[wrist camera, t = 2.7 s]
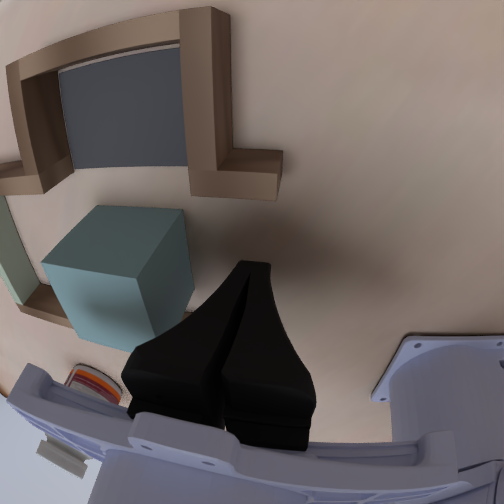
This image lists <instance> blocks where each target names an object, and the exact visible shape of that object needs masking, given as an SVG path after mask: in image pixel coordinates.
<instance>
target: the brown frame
mask: <svg viewBox="0 0 504 504" xmlns="http://www.w3.org/2000/svg"><path fill="white" fill-rule="evenodd" d="M177 43H180V61H181V80H182V97H183V112H184V126H185V138H186V150H187V161H188V172H189V182H190V191H191V196H200V197H219V198H236V199H251V200H265V201H276V200H277V196H278V191H279V186H280V181H281V176H282V161H283V151H279V150H262V149H237V148H233V136H232V96H231V43H230V15H229V14H227V13H225V12H222V11H220V10H218V9H216V8H214V7H211V6H208V7H199V8H191V9H184V10H177V11H171V12H165V13H160V14H154V15H149V16H145V17H140V18H136V19H131V20H127V21H123V22H119V23H116V24H112V25H108V26H105V27H101V28H98V29H95V30H92V31H89V32H85V33H82V34H79V35H77V36H74V37H71V38H68V39H65V40H63V41H60V42H58V43H55V44H53V45H50V46H48V47H45V48H43V49H40V50H38V51H36V52H34V53H31V54H29V55H27V56H25V57H23V58H21V59H19V60H17V61H15V62H12V63H11V64H9V65H7V66H6V74H7V83H8V91H9V98H10V105H11V111H12V117H13V122H14V128H15V133H16V137H17V142H18V147H19V151H20V155H21V159H22V161H15V162H9V163H4V164H0V196H5V195H34V194H45V193H46V192H48V191H49V190H50V189H51V188H53V187H54V186H55V185H57V184H58V183H59V182H61V181H62V180H64V179H65V178H66V177H68V176H69V175H70V174H72V173H73V172H74V170H73V165H72V161H71V156H70V151H69V147H68V141H67V136H66V131H65V125H64V119H63V113H62V107H61V100H60V92H59V84H58V75H57V70H60V69H63V68H66V67H69V66H73V65H76V64H79V63H83V62H86V61H90V60H94V59H98V58H102V57H106V56H110V55H114V54H119V53H124V52H128V51H133V50H139V49H144V48H150V47H156V46H163V45H170V44H177ZM16 304H17V306H18V308H19V309H20V311H21V312H23V313H26V314H29V315H31V316H34V317H37V318H40V319H43V320H46V321H49V322H52V323H56V324H59V325H62V326H65V327H68V328H72V329H74V328H73V326H72V324H71V323H70V321H69V319H68V317H67V315H66V313H65V312H64V310H63V308H62V306H61V304H60V302H59V300H58V298H57V296H56V294H55V292H54V290H53V288H52V286H48V285H44V284H39V285H38V287H37V288H36V289H35V290H34V292H33V293H32V294H31V295H30V297H29V298H28V299H27V300H26V302H25V303H24V304H23V305H21V304H18V303H16ZM190 314H192V313H190V312H184V314H183V317H182V319H181V321H183V320H184V319H185V318H187V317H188V316H189V315H190ZM181 321H180V322H181Z"/></svg>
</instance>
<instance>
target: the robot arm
mask: <svg viewBox="0 0 504 504" xmlns="http://www.w3.org/2000/svg"><path fill="white" fill-rule="evenodd" d="M270 273H271V265H270V264H269V263H265V262H255V261H244V260H241V261H239V262H238V264H237V265H236V267H235V268H234V269H233V271H232V272H231V273H230V275H229V276H228V277H227V278H226V280H225V281H224V282H223V283H222V284H221V285H220V287H219V288H218V289H217V290H216V291H215V292H214V293H213V294H212V295H211V296H210V297H209V298H208V299H207V300H206V301H205V302H204V303H203V304H202V305H201V306H200V307H199V308H198V309H196V310H195V311H194V312H193V313H192V314H190V315H189V316H188V317H187V318H185V319H184V320H183V321H181V322H180V323H178V324H177V325H176V326H174V327H172V328H171V329H169V330H168V331H166V332H164V333H163V334H161V335H159V336H157V337H155V338H154V339H151V340H149V341H147V342H145V343H143V344H141V345H138V346H136V347H135V349H134V351H133V352H132V353H131V355H130V357H129V358H128V361H127V363H126V365H125V367H124V369H123V371H122V373H121V378H122V380H123V382H124V384H125V386H126V387H127V389H128V391H129V392H130V394H131V395H132V397H133V398H132V400H131V403H130V405H129V407H128V408H126V407H122V406H119V405H116V404H113V403H110V402H107V401H105V400H102V399H99V398H96V397H93V396H91V395H88V394H85V393H83V392H80V391H78V390H75V389H73V388H70V387H68V386H65V385H63V384H61V383H58V382H56V381H54V380H53V379H52V377H51V376H50V375H49V374H48V373H47V372H46V371H45V370H43V369H41V368H39V367H37V366H35V365H33V364H30V363H28V364H27V365H26V367H25V369H24V370H23V372H22V374H21V375H20V377H19V379H18V380H17V382H16V384H15V386H14V387H13V389H12V391H11V393H10V394H9V396H8V398H7V400H6V401H7V403H8V404H9V405H10V406H11V407H13V409H15V410H16V411H17V412H18V413H19V414H20V415H21V416H23V417H24V418H25V419H26V420H27V421H28V422H29V423H31V424H32V425H33V426H35V427H37V428H38V429H40V430H42V431H43V432H45V433H47V434H49V435H51V436H52V437H54V438H56V439H58V440H60V441H61V442H63V443H65V444H67V445H69V446H71V447H72V448H74V449H76V450H78V451H80V452H82V453H84V454H86V455H88V456H90V457H92V458H94V459H97V460H99V461H101V462H103V463H102V466H101V468H100V471H99V474H98V476H97V479H96V482H95V485H94V487H93V490H92V493H91V496H90V498H89V501H88V504H504V335H503V336H409V337H407V338H405V339H404V340H403V342H402V344H401V345H400V347H399V349H398V351H397V353H396V355H395V356H394V358H393V360H392V362H391V363H390V365H389V367H388V369H387V370H386V372H385V374H384V375H383V377H382V379H381V380H380V382H379V384H378V385H377V387H376V389H375V390H374V392H373V393H372V395H371V401H373V402H390V409H391V423H392V442H382V443H326V442H309V430H310V427H311V418H312V415H313V413H314V410H315V408H316V393H315V389H314V385H313V381H312V378H311V375H310V373H309V371H308V370H307V368H306V367H305V366H304V364H303V363H302V361H301V360H300V358H299V356H298V355H297V353H296V351H295V350H294V348H293V346H292V344H291V342H290V340H289V338H288V336H287V334H286V332H285V330H284V327H283V325H282V322H281V320H280V317H279V314H278V311H277V308H276V305H275V301H274V297H273V292H272V287H271V280H270ZM225 426H226V430H227V431H225Z"/></svg>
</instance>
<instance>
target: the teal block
mask: <svg viewBox="0 0 504 504" xmlns="http://www.w3.org/2000/svg"><path fill="white" fill-rule="evenodd" d="M41 264H42V267H43V269H44V271H45V273H46V275H47V278H48V280H49V282H50V284H51V286H52V288H53V290H54V292H55V294H56V296H57V298H58V300H59V302H60V304H61V306H62V308H63V310H64V312H65V313H66V315H67V317H68V319H69V321H70V323H71V324H72V326H73V328H74V330H75V331H76V333H77V335H78V337H79V338H81V339H84V340H87V341H90V342H94V343H97V344H101V345H104V346H108V347H111V348H115V349H119V350H123V351H126V352H130V353H132V352H133V351H134V349H135V347H136V346H138V345H141V344H143V343H145V342H147V341H149V340H151V339H154V338H155V337H157V336H159V335H161V334H163V333H164V332H166V331H168V330H169V329H171V328H172V327H174V326H176V325H177V324H178V323H180V321H181V319H182V317H183V314H184V312H185V309H186V307H187V305H188V303H189V300H190V298H191V296H192V293H193V291H194V284H193V277H192V271H191V265H190V258H189V251H188V244H187V237H186V230H185V222H184V215H183V209H168V208H149V207H127V206H101V205H97V206H96V207H95V208H94V209H93V210H92V211H90V212H89V213H88V214H87V215H86V216H85V217H84V218H83V219H82V220H81V221H80V222H79V223H78V224H77V225H76V226H75V227H74V228H73V229H72V230H71V231H70V232H69V233H68V234H67V235H66V236H65V237H64V238H63V239H62V240H61V241H60V242H59V243H58V244H57V245H56V246H55V247H54V249H53V250H52V251H51V252H50V253H49V254H48V255H47V256H46V257H45V258H44V259H43V260H42V261H41Z"/></svg>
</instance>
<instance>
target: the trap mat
mask: <svg viewBox="0 0 504 504" xmlns="http://www.w3.org/2000/svg"><path fill="white" fill-rule="evenodd" d="M59 79H60V88H61V96H62V103H63V110H64V116H65V122H66V128H67V134H68V139H69V144H70V149H71V154H72V159H73V163H74V168H75V169H84V168H104V167H134V166H188V161H187V150H186V138H185V126H184V112H183V97H182V80H181V61H180V48H174V49H166V50H159V51H153V52H147V53H141V54H135V55H130V56H125V57H120V58H115V59H111V60H107V61H102V62H98V63H94V64H90V65H87V66H83V67H79V68H76V69H72V70H69V71H66V72H62V73H59Z"/></svg>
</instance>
